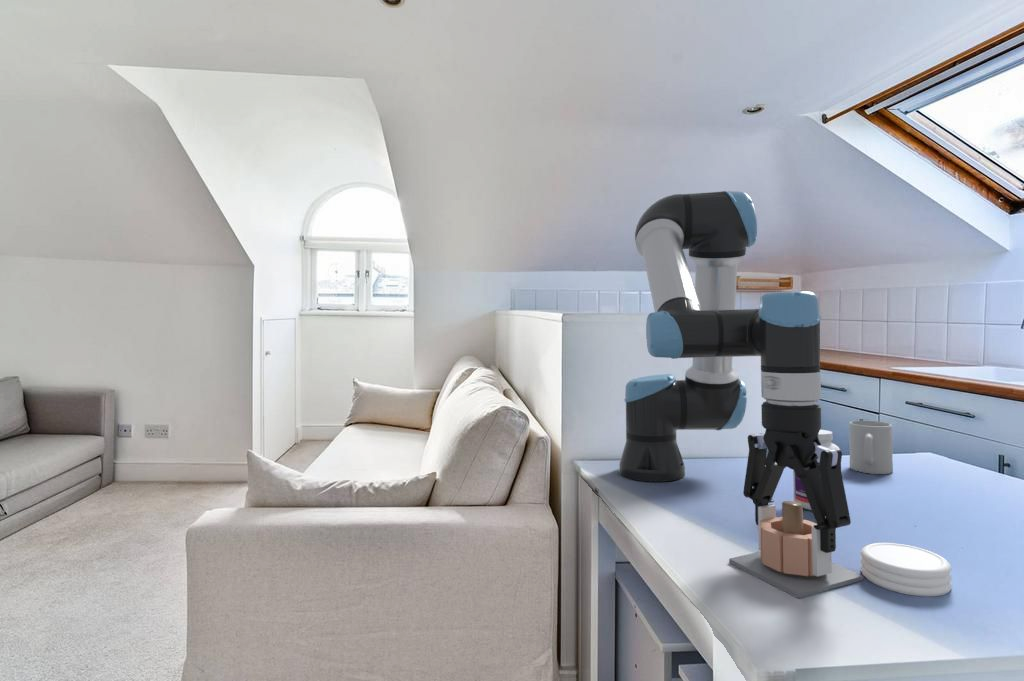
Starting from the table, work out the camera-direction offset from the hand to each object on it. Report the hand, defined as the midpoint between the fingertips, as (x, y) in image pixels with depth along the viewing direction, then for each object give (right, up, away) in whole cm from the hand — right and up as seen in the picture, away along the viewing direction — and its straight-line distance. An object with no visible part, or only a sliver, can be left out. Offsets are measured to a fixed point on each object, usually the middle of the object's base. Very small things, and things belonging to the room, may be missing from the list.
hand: (793, 560), depth 79 cm
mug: (+43, +1, +50) cm, 66 cm away
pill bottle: (+18, -1, +27) cm, 32 cm away
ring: (0, 0, 0) cm, 0 cm away
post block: (0, -2, 0) cm, 2 cm away
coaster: (+13, -2, -3) cm, 14 cm away
